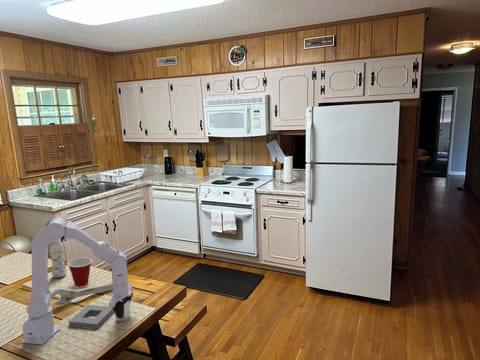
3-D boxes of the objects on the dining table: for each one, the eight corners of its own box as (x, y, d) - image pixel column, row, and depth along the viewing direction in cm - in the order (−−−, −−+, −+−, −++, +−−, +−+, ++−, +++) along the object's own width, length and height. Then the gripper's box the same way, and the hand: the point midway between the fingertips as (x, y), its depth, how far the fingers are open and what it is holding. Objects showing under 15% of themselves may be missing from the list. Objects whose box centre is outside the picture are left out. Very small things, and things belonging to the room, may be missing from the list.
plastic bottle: (52, 275, 169) (48, 238, 166) (67, 272, 172) (63, 236, 169) (51, 280, 163) (47, 242, 160) (66, 277, 166) (62, 240, 163)
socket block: (97, 328, 123) (97, 324, 123) (69, 326, 125) (68, 321, 125) (114, 311, 135) (114, 307, 134) (88, 309, 137) (87, 304, 136)
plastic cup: (87, 289, 154) (85, 265, 152) (65, 289, 154) (62, 265, 152) (98, 279, 164) (96, 256, 162) (76, 279, 164) (74, 256, 163)
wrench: (121, 293, 156) (50, 309, 136) (120, 291, 157) (49, 307, 137) (122, 277, 155) (51, 291, 135) (120, 275, 156) (50, 289, 137)
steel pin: (125, 321, 128) (123, 305, 126) (115, 320, 128) (114, 304, 127) (130, 315, 131) (129, 299, 130) (121, 315, 132) (119, 299, 131)
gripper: (120, 292, 120) (122, 326, 122) (138, 274, 134) (140, 305, 136) (102, 291, 121) (105, 324, 123) (122, 273, 135) (124, 304, 137)
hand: (122, 314), depth 130 cm, fingers closed on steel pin, 4 cm apart
